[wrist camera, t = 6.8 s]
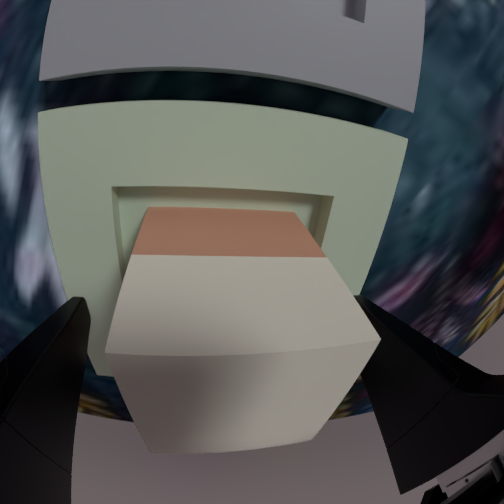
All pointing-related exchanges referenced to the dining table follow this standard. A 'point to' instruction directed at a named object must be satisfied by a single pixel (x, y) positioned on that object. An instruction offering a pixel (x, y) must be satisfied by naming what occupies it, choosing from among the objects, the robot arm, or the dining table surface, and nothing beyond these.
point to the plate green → (204, 183)
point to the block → (233, 331)
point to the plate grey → (245, 42)
